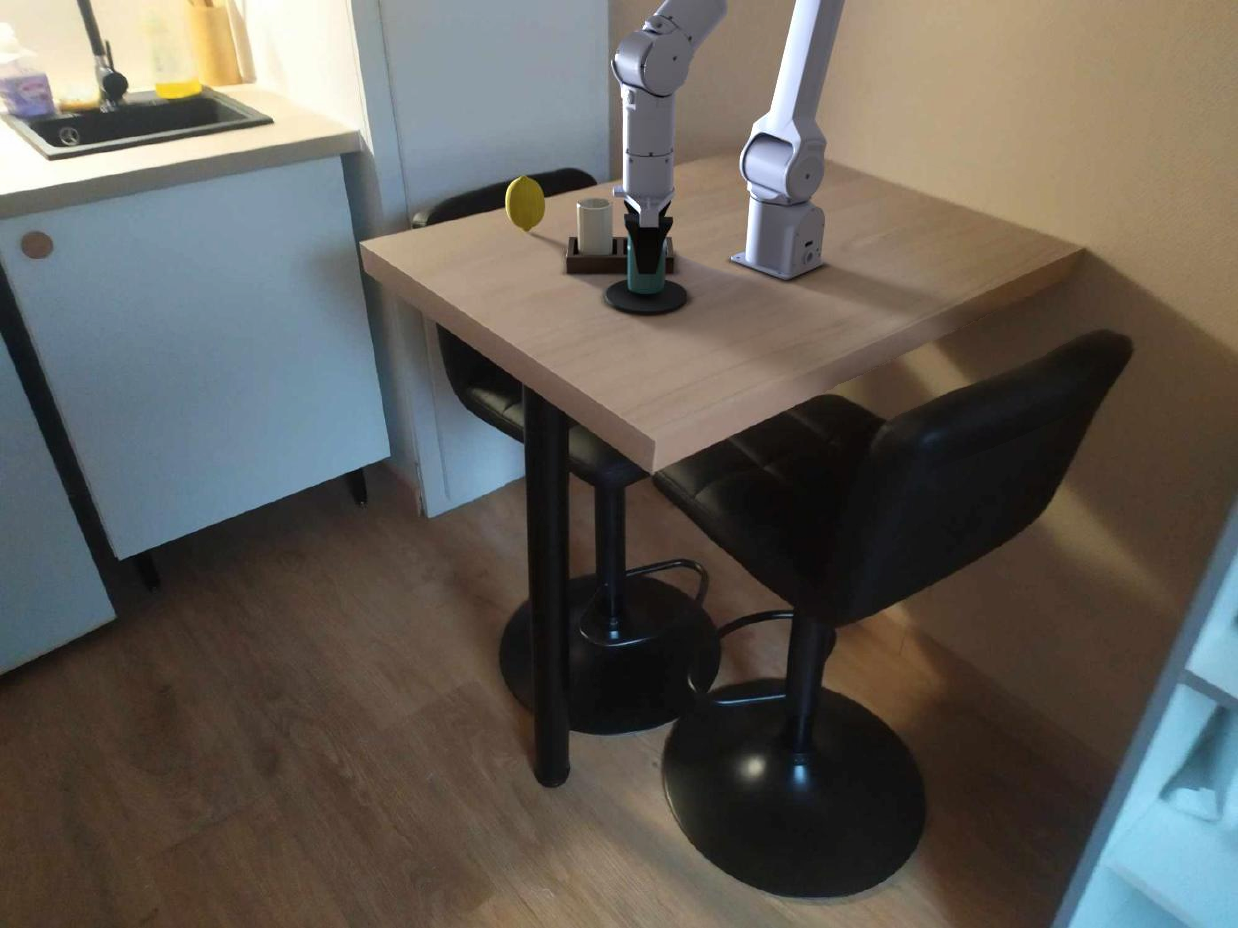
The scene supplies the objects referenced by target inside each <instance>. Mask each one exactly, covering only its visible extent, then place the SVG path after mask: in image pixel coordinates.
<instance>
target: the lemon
mask: <svg viewBox="0 0 1238 928" xmlns="http://www.w3.org/2000/svg"><path fill="white" fill-rule="evenodd" d="M505 193H506V194H505V211H506V214H507V217H508V219H509V221H510V222H511V223H512V224H513V225H514V226H516V227H517V228H519V229H521V230H523V231H524V232H525V233H527V232H530V231H531V230H532V229H533V228H534V227H536V226H538V225H539V224H540V223H541V222H542V220H543V219H544V216H545V212H546V199H545V195H544V192H543V189H542V187H541V185H540V184H539V183H538V182H537V180H534V179H533V178H531V177H528V176H527V175H525V174H523V175H521V176H519V177H518V178H516V179H514V180H513V181H512V182H511V183H510V184H509V185H508V187H507V189H506V192H505Z"/></svg>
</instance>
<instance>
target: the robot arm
mask: <svg viewBox="0 0 1238 928" xmlns="http://www.w3.org/2000/svg"><path fill="white" fill-rule="evenodd" d="M845 2H846V0H796V1H795V5H794V9H793V13H792V17H791V22H790V27H789V30H788V34H787V38H786V43H785V47H784V51H783V56H782V59H781V65H780V69H779V73H778V77H777V80H776V81H777V82H776V86H775V90H774V95H773V99H772V102H771V106H770V110H769V111H768V112H767V113H766V114H764V115H763V116H762V117H760V118H759V119H757V121H755V122H754V123H753V124H752V125H753V126H752V130H751V134H750V136H749V139H748V140H747V142H746V144H745V146H744V147H743V149H742V151H741V154H740V158H739V171H740V174H741V176H742V178H743V179H744V180H745V181H746V183H747V185H746V186H747V187H746V191H749V192H750V194H749V207H748V221H747V231H746V233H747V234H746V246H745V250H744V251H742V252H739V253H736V254H733V255H731V257H730V258H731V259H730V260H731V261H733V262H736V263H738V264H741V265H744V266H746V267H748V268H751V269H754V270H756V271H759V272H762V273H764V274H767V275H770V276H772V277H776V278H778V279H781V280H784V281H788V280H790V279H793V278H796V277H797V276H800V275H802V274H804V273H807V272H810V271H811V270H814V269H816V268H819V267H820V266H823V265H824V261H823V260H822V259H821V257H822V248H823V242H824V235H825V234H824V233H825V232H824V231H825V225H826V217H825V212H824V210H823V208H822V207H820V206H818V205H817V204H814V203H813V202H812V201H811V200H812V199H813V198H812V196H814V195H815V194H816V192H817V191H818V190H819V188H820V186H821V185H822V182H823V179H824V175H825V169H826V168H825V167H826V166H825V152H826V147H827V144H828V141H827V138H826V137H825V135H824V133H823V132H822V130H821V128H820V126H819V125H818V123H817V121H816V116H817V111H818V108H819V104H820V100H821V97H822V92H823V88H824V85H825V80H826V77H827V73H828V69H829V65H830V61H831V57H832V52H833V49H834V45H835V41H836V38H837V34H838V29H839V26H840V22H841V17H842V14H843V10H844V6H845ZM727 14H728V0H665V1H664V2H663V3H662V4H661V6H660V7H659V8H658V9H657V10H656V12H655V13H654V14H653V15H652V14H651V15H649V16H648V17H647V19H646V20H645V21H644V26H643V28H642V29H636V30H635V31H634V30H633V31H630V32H629V33H627V34H626V35H625V37H623V39H622V40H621V41H620V43H619V45H618V47H617V50H616V51H615V52H616V53H615V58H612V59H611V69H612V72H613V75H614V77H615V79H616V80H617V81H618V83H619V85H620V98H621V99H622V152H623V153H622V185H613V187H612V196H613V197H614V198H622V199H623V204H624V207H625V208H626V211H627V213H623V217H622V218H623V219H622V220H623V225H624V227H625V229H626V231H627V234H628V233H629V235H630V238H631V241H632V244H633V248H634V254H635V260H636V266H637V270H638V273H639V274H656V272H657V269H658V265H659V261H660V256H661V251H662V247H663V244H664V241H665V238H666V237H668V234H669V232H670V230H671V229H672V227H673V224H674V216H666V214H667V212H668V210H669V208H670V205H671V204H672V200H673V199H674V197H675V193H676V192H675V191H676V189H675V187H674V168H675V166H674V165H675V139H676V137H675V136H676V135H675V133H676V105H677V104H676V103H677V102H676V100H677V90H678V89H679V88H681V87H682V86H683V85H685V83H686V80H687V78H688V75H689V71H690V64H691V62H692V60H693V59H694V58H695V53H696V51H697V50H698V49H699V48H700V47H701V46H702V44H703V43H704V42H705V40H706V39H708V37H709V36H710V35H711V34H712V33H713V31H714V30H715V29H716V28H717V27H718V26H719V24H720V23H721V22H722V21H723V19H724V18H726V16H727Z"/></svg>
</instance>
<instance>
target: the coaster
mask: <svg viewBox="0 0 1238 928" xmlns="http://www.w3.org/2000/svg"><path fill="white" fill-rule="evenodd" d="M605 300H606V303H607V304H608V305H609V306H610V307H612V308H613V309H615V310H618V311H621V312H623V313H627V314H631V315H641V316H655V315H662V314H663V315H664V314H667V313H671V312H674V311H677V310H679V309H680V308H682V307H683V306H684V305H685V304H686V303H687V301H688V292H687V290H686V289H685V288H684V286H682V285H680V284H679V283H677V282H675V281H672V280H669V279H665V287H664V289H663V290H662V291H660V292H657V293H653V294H640V293H636V292H633V291H631V290H630V289H629V288H628V278H626V279H623V280H620V281H617V282H614V283H613V284H611V285H610V286H609V287H608V288H607V289H606V290H605Z"/></svg>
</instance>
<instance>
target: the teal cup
mask: <svg viewBox="0 0 1238 928" xmlns="http://www.w3.org/2000/svg"><path fill="white" fill-rule="evenodd" d="M627 237H628V254H627V255H628V273H627V279H628V288H629V289H630V290H631V291H633V292H636V293H640V294H653V293H657V292H660V291H662V290H663V289H664V287H665V280H666V273H665V259H666V238H665V241H664V244H663V247H662V251H661V256H660V261H659V265H658V269H657V272H656V274H639V273H638V270H637V266H636V260H635V254H634V248H633V244H632V241H631V238H630V235H629V233H628V232H627Z"/></svg>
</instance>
